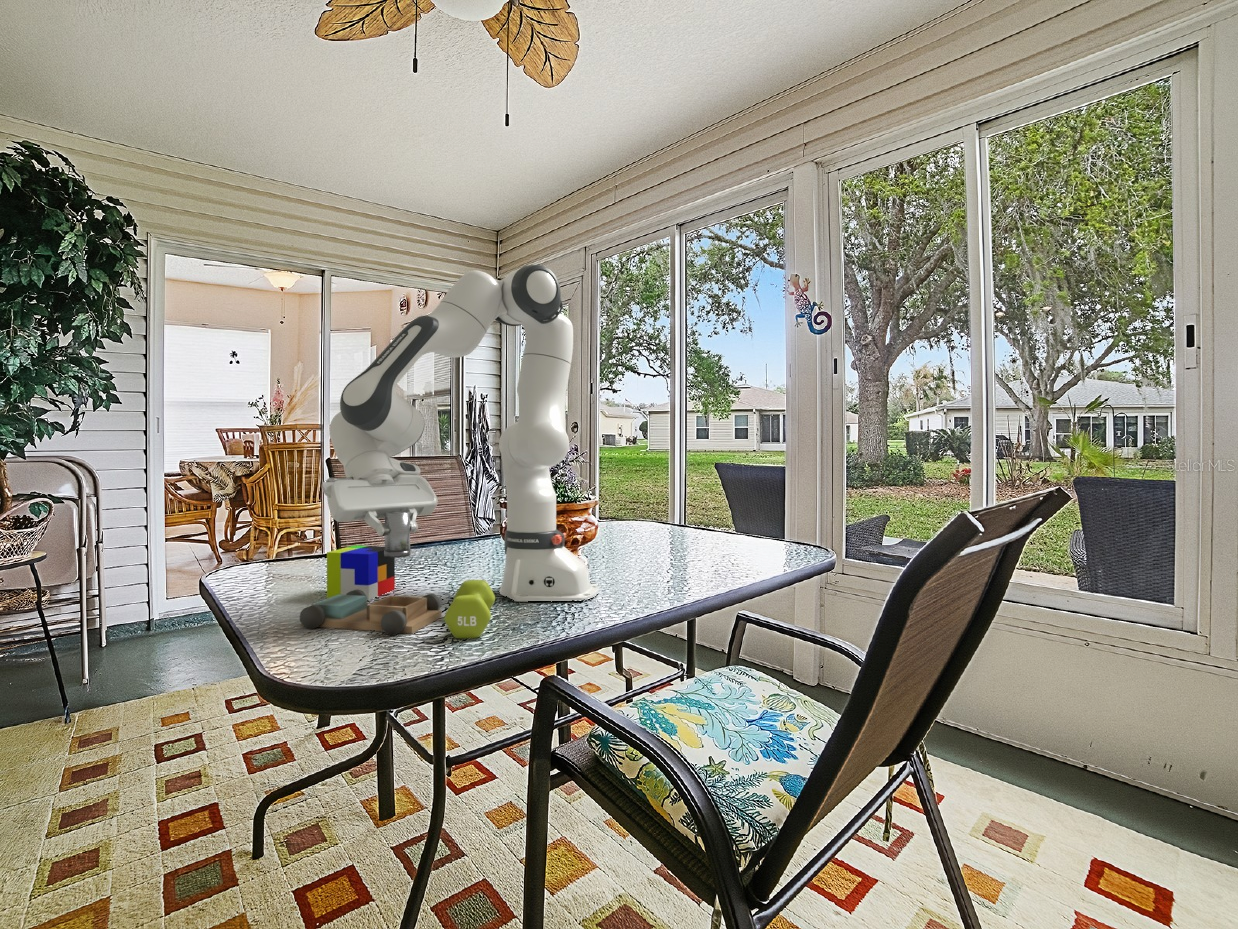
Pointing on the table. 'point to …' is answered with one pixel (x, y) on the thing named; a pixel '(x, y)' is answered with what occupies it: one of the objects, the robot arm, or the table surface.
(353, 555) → the puzzle toy
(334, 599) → the chassis
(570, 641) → the table surface
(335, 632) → the table surface
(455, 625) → the dumbbell
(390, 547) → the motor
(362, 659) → the table surface
